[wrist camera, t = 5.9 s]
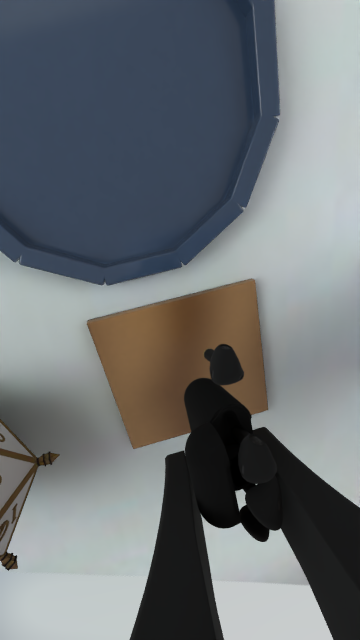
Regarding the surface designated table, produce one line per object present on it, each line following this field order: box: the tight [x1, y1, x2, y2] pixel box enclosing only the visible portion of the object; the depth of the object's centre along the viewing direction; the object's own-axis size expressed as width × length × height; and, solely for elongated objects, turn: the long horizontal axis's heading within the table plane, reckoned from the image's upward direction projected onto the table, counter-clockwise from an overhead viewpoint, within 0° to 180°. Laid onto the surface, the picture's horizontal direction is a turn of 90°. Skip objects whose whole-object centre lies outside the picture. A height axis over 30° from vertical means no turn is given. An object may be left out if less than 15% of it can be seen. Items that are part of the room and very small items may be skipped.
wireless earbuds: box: [184, 344, 283, 542], centre depth 10 cm, size 7×2×5 cm, turn 10°
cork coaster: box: [87, 279, 268, 449], centre depth 17 cm, size 8×8×1 cm
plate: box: [0, 0, 280, 285], centre depth 11 cm, size 13×13×1 cm
